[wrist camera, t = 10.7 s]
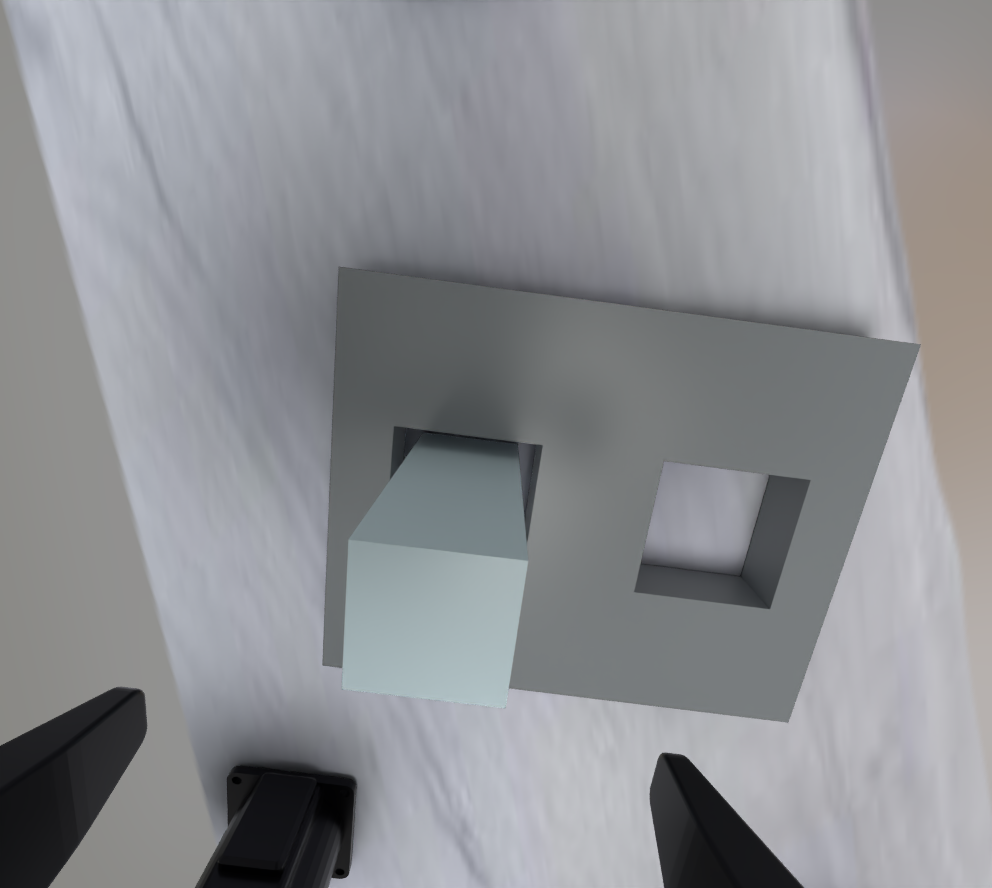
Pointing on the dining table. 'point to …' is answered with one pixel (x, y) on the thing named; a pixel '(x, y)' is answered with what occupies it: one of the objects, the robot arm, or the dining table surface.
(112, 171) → the dining table surface
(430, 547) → the plug
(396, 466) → the socket panel
